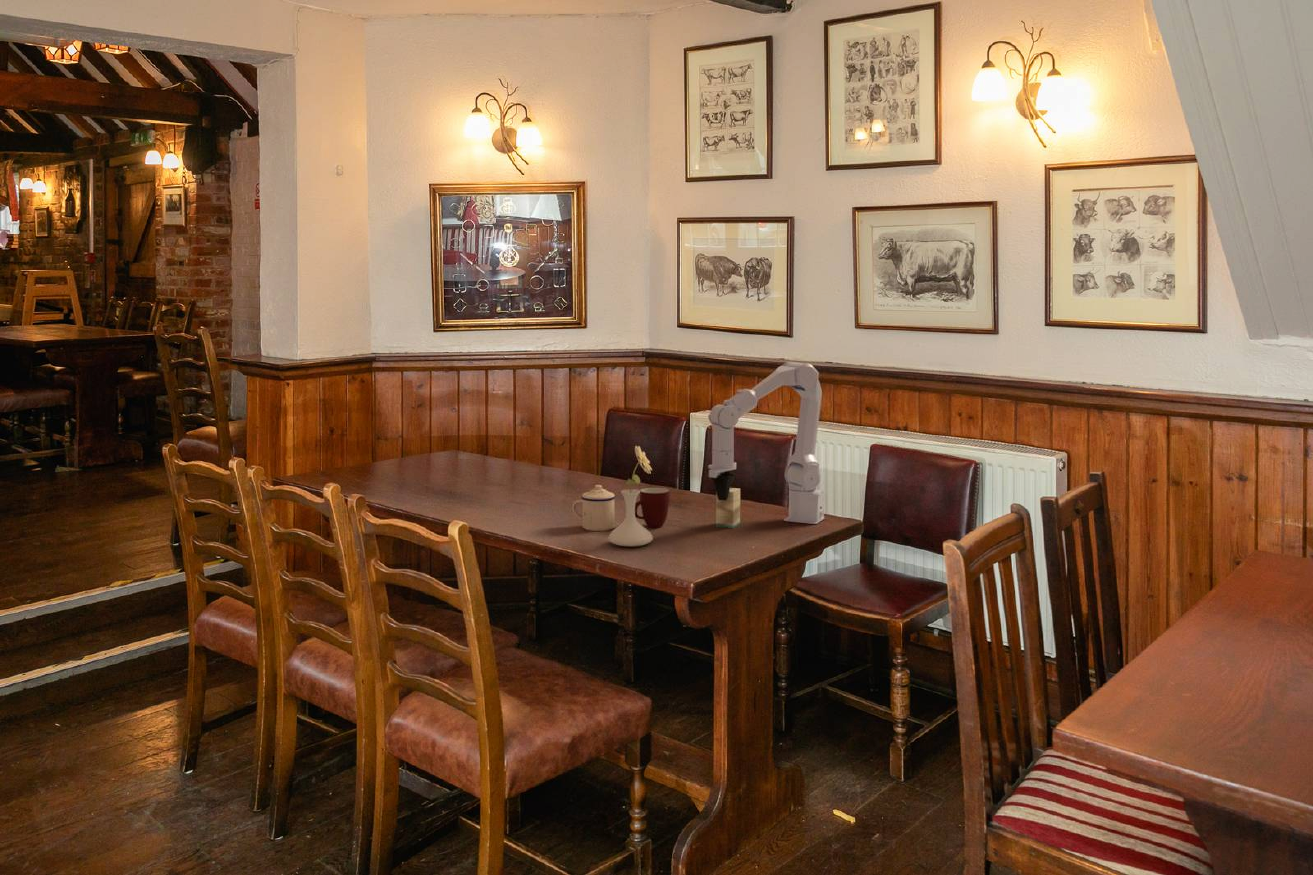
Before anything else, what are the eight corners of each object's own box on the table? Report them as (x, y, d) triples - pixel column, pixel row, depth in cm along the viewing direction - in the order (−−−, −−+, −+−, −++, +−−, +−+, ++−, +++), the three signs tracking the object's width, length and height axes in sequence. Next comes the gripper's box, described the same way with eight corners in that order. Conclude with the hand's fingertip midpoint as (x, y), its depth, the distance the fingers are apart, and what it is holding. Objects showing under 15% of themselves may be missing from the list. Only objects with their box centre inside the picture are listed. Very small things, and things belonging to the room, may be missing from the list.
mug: (643, 532, 290) (643, 495, 289) (626, 526, 297) (626, 490, 295) (675, 527, 296) (675, 491, 295) (658, 521, 303) (658, 486, 302)
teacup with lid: (619, 525, 299) (619, 483, 297) (608, 532, 290) (608, 489, 289) (579, 522, 303) (578, 481, 301) (566, 529, 294) (566, 487, 292)
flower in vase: (637, 552, 270) (636, 452, 266) (599, 546, 276) (598, 448, 272) (664, 541, 281) (664, 445, 277) (627, 536, 286) (627, 441, 283)
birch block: (739, 524, 300) (740, 488, 298) (733, 528, 295) (733, 491, 294) (723, 522, 302) (723, 487, 301) (716, 526, 298) (716, 490, 296)
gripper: (719, 445, 300) (719, 493, 302) (698, 452, 287) (698, 503, 289) (743, 446, 297) (743, 495, 299) (723, 454, 284) (722, 505, 286)
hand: (722, 499), depth 294 cm, fingers closed
